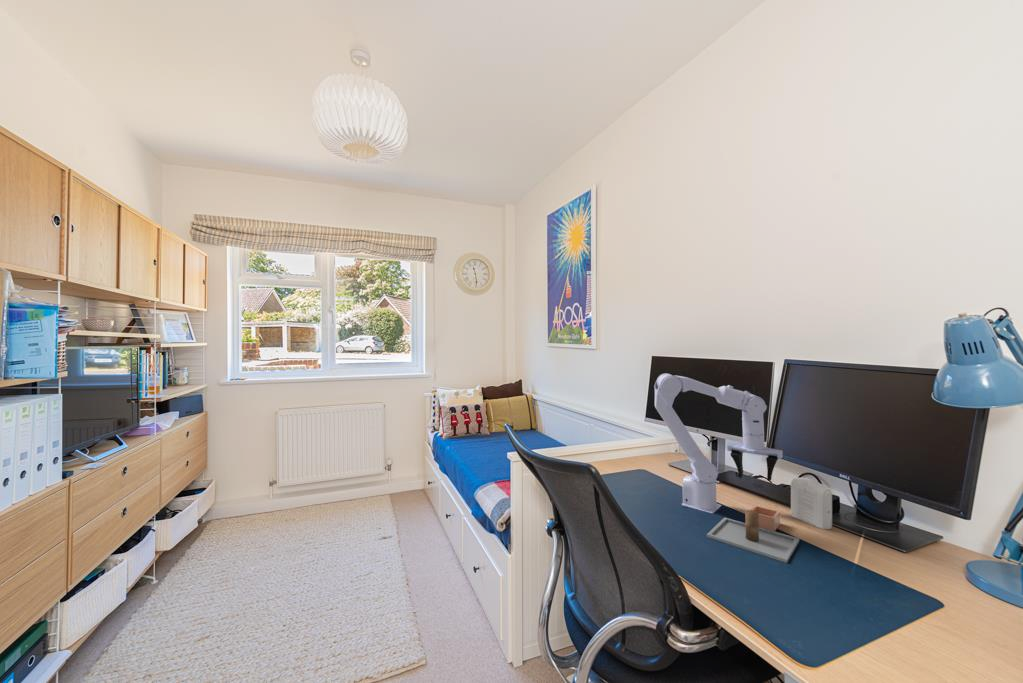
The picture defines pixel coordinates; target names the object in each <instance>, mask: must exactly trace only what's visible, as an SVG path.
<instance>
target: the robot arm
mask: <svg viewBox="0 0 1023 683" xmlns="http://www.w3.org/2000/svg"><path fill="white" fill-rule="evenodd" d="M653 388H654V408H655V409H656V411H657V413H658V414H659V415H660V417H661V418H662V420H663V421H664V423H665V425H666V426H667V428H668V429H669V431H670V433H671V434H672V435H673V437H674V439H675V440H676V441H677V443H678V444H679V446H680V447H681V449H682V451H683V452H684V453H685V456H686V457H687V459H688V461H689V467H690V469H691V471H693V472H692V473H691V475H686V476H684V478H683V481H682V486H681V487H682V488H681V489H682V503H681V506H682V507H685V508H692V509H695V510H699V511H702V512H706V513H709V514H714V513H715V512H717V511H718V510H719V509H720V508H721V507H722V504H719V503H717V478H718V476H719V471H718V468H717V467H716V465H715V464H713V463H712V462H711V461H710V459H709V458H708V457H707V456H706V455H704V453H703V452H702V450H701V449H700V448H699V447H700V446H698V444H697V443H696V441H695V440H694V438H693V437H692V435H691V434H690V432H689V431H688V430H687V428H686V426H685V425H684V423H683V422H682V420H681V418H680V417H679V416H678V414H677V412H676V411H675V409H674V407H673V404H674V401H675V398H676V397H677V396H678V394H679V393H680V392H682V393H685V392H688V391H694V392H696V393H700V394H703V395H707V396H709V397H713V398H715V400H716V402H717V403H718V404H721V405H724V406H727V407H731V408H732V409H733V408H734V409H736V410H741V416H742V417H741V421H742V422H741V424H742V444H739V443H738V444H737V443H728V444H727V445H726V446H727V451H728V452H730V457H731V458H732V460H733V462H734V464H735V466H736V468H737V472H738V476H740V477H741V476H743V475H744V467H743V453H745V454H752V455H758V456H759V455H760V456H765V459H766V460H765V461H766V467H767V468H766V469H767V471H766V472H767V473H766V474H767V477H766V478H767V479H766V480H767V481H769V482H771V481H772V476H773V472H774V468H775V466H776V464H777V461H778V460H779V459H783V450H782V449H775V448H770V447H766V446H765V445H766V444H765V425H764V424H765V423H764V422H765V420H764V414H765V412H766V410H767V408H768V405H766V402H765V400H764V399H763V398H762V397H760V396H757V395H755V394H752V393H751V392H750V391H747V390H744V391H743V390H739V389H735V388H734V386H732V385H730V384H728V385H722V386H719V387H715V386H714V385H710V384H707V383H704V382H701V381H699V380H696V379H693V378H690V377H687V376H683V375H682V376H681V375H676V374H675V375H672V374H671V373H666V372H665V373H662V374H661V373H660V374H659V375H658V377H657V379H656V380H655V383H654V386H653Z"/></svg>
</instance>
